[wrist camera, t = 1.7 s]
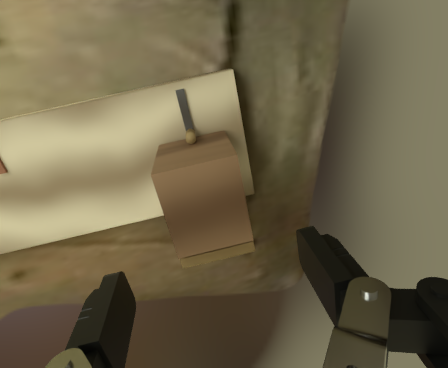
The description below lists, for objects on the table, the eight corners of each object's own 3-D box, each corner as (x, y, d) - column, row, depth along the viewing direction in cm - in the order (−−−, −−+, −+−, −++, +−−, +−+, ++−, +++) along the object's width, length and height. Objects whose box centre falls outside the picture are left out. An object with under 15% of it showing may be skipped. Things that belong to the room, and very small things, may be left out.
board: (-141, 150, 22) (-174, 160, 20) (229, 68, 23) (233, 69, 21) (-60, 257, 26) (-81, 274, 24) (249, 184, 27) (255, 194, 25)
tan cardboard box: (157, 131, 23) (146, 162, 16) (220, 116, 23) (234, 142, 16) (183, 216, 26) (182, 271, 19) (237, 203, 26) (256, 253, 20)
